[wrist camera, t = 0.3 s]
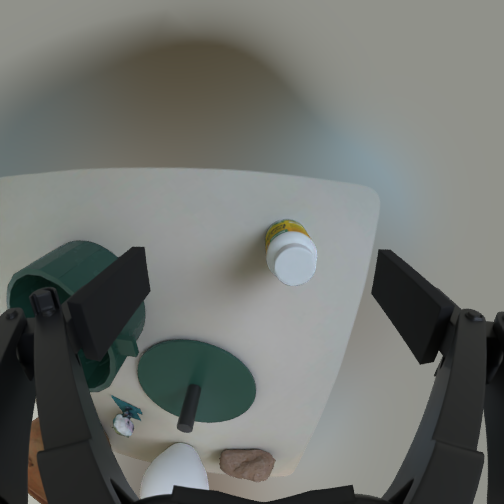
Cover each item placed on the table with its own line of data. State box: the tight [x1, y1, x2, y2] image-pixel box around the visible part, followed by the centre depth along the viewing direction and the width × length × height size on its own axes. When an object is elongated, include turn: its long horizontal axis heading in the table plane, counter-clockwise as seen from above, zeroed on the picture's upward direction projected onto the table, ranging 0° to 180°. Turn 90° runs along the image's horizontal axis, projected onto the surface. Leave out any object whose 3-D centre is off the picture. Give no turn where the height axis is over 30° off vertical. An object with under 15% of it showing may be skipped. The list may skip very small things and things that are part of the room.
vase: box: [140, 443, 209, 499], centre depth 39 cm, size 14×14×28 cm
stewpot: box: [6, 240, 145, 392], centre depth 34 cm, size 20×25×12 cm
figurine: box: [111, 395, 143, 437], centre depth 45 cm, size 12×9×8 cm
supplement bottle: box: [265, 219, 317, 286], centre depth 31 cm, size 5×5×10 cm
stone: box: [219, 449, 276, 482], centre depth 49 cm, size 12×9×10 cm
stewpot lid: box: [137, 340, 256, 433], centre depth 39 cm, size 21×21×10 cm
